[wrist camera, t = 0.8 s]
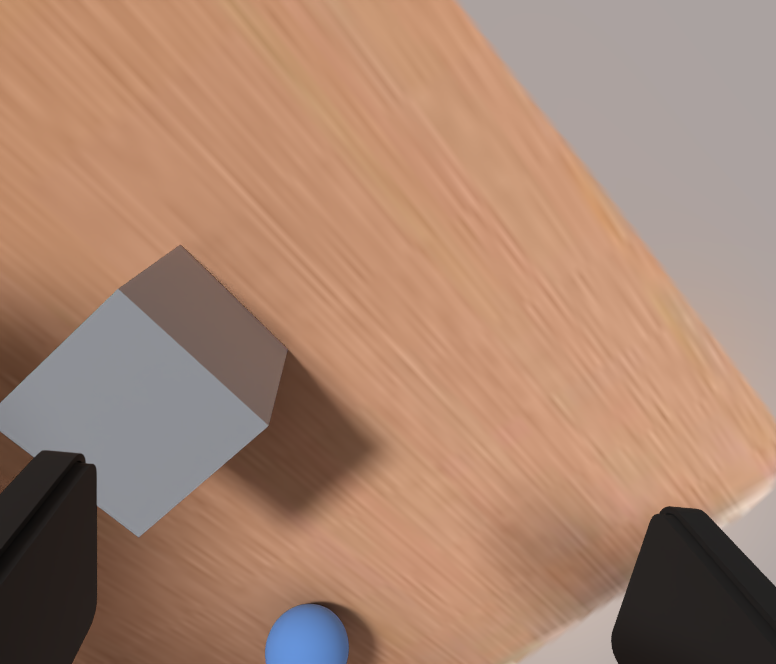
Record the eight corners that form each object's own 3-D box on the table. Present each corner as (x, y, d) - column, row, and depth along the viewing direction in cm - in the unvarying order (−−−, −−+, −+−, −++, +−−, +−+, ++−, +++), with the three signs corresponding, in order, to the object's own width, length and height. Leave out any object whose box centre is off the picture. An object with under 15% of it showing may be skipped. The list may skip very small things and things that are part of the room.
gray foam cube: (189, 436, 34) (138, 537, 25) (79, 341, 31) (-17, 418, 23) (287, 349, 32) (268, 425, 24) (180, 244, 30) (118, 288, 22)
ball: (273, 649, 39) (264, 721, 34) (266, 588, 37) (255, 655, 33) (350, 644, 39) (351, 714, 34) (346, 582, 38) (347, 648, 33)
